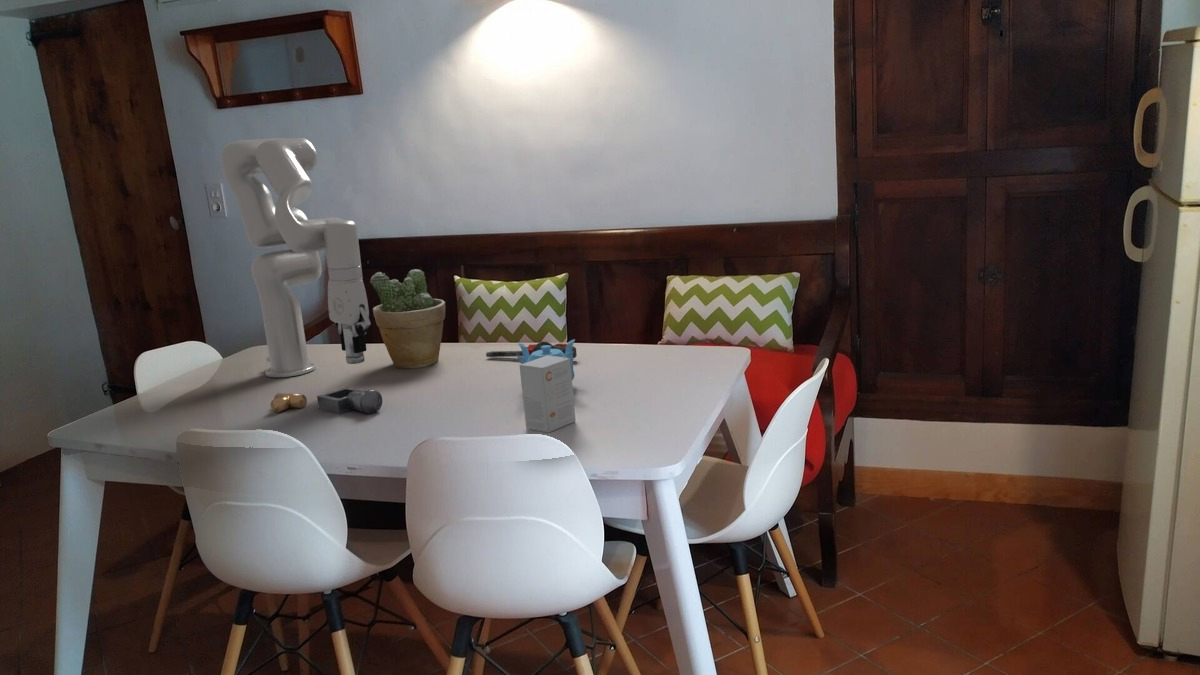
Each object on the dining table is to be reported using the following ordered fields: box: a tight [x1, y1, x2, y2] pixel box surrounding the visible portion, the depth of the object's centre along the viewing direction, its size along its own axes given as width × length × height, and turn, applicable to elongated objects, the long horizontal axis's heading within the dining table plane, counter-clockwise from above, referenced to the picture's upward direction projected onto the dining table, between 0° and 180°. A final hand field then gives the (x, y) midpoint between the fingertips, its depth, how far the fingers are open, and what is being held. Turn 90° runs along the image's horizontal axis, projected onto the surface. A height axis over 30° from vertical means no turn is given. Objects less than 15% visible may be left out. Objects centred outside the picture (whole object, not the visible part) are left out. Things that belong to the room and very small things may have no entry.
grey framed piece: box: [316, 386, 383, 415], centre depth 205 cm, size 15×8×5 cm, turn 50°
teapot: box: [515, 338, 576, 381], centre depth 208 cm, size 13×13×10 cm
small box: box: [519, 356, 576, 434], centre depth 182 cm, size 8×6×13 cm
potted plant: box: [369, 269, 446, 369], centre depth 241 cm, size 18×19×25 cm
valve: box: [485, 341, 577, 359], centre depth 239 cm, size 6×26×15 cm
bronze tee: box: [270, 392, 308, 414], centre depth 210 cm, size 7×6×3 cm
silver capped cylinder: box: [342, 320, 365, 365], centre depth 220 cm, size 4×4×10 cm
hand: (354, 349), depth 220 cm, fingers closed on silver capped cylinder, 4 cm apart
